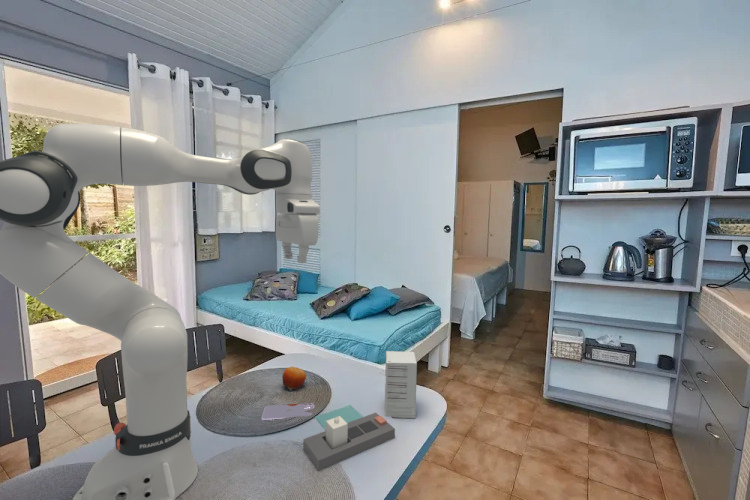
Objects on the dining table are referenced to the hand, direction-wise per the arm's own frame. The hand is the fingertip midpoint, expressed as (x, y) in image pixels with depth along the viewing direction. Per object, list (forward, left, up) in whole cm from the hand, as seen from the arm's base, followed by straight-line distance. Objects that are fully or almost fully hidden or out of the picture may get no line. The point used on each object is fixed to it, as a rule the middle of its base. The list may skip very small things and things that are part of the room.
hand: (294, 260), depth 88 cm
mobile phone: (+2, +11, -48) cm, 49 cm away
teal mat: (+13, -1, -47) cm, 49 cm away
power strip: (+10, -12, -47) cm, 50 cm away
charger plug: (+6, -12, -47) cm, 49 cm away
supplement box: (+31, -6, -48) cm, 57 cm away
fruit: (+9, +25, -48) cm, 55 cm away
